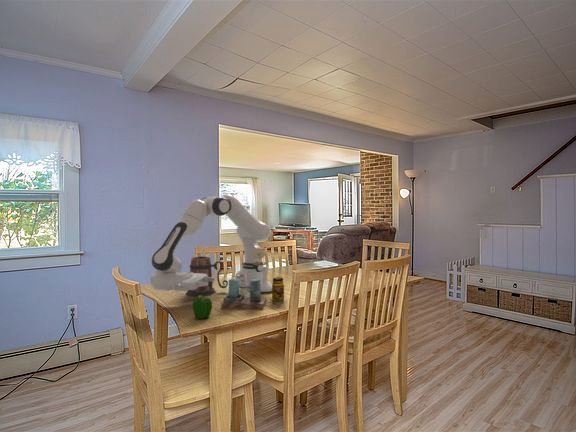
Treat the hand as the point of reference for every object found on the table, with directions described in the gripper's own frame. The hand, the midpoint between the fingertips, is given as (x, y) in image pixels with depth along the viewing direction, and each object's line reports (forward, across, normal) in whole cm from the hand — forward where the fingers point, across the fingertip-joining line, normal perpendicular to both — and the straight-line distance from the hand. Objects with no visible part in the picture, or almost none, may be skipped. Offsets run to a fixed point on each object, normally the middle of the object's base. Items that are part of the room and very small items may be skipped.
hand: (211, 281), depth 164 cm
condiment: (+32, +8, +12) cm, 35 cm away
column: (+12, -1, +9) cm, 15 cm away
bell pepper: (+2, -20, +11) cm, 23 cm away
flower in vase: (+21, +28, +12) cm, 38 cm away
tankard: (-10, +24, +12) cm, 28 cm away
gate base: (+17, -1, +12) cm, 20 cm away
